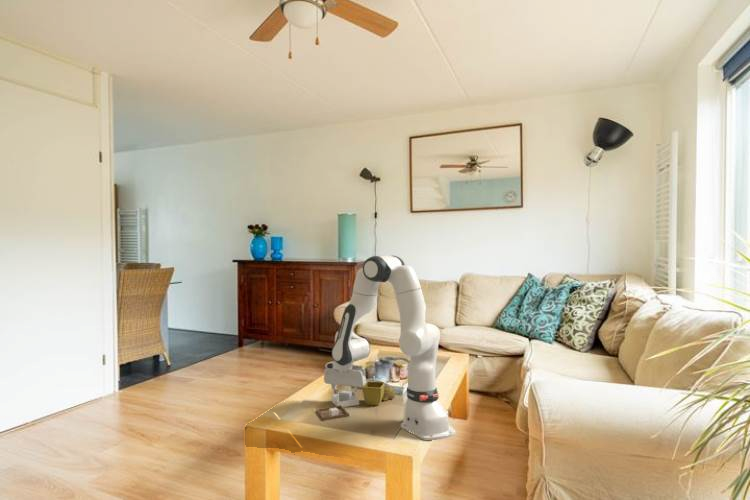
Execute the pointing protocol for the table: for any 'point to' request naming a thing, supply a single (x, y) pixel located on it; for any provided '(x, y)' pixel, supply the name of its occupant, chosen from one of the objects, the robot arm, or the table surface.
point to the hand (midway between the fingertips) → (345, 394)
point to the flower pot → (373, 392)
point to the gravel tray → (325, 416)
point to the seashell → (388, 393)
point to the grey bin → (345, 403)
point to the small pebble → (333, 412)
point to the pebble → (345, 395)
